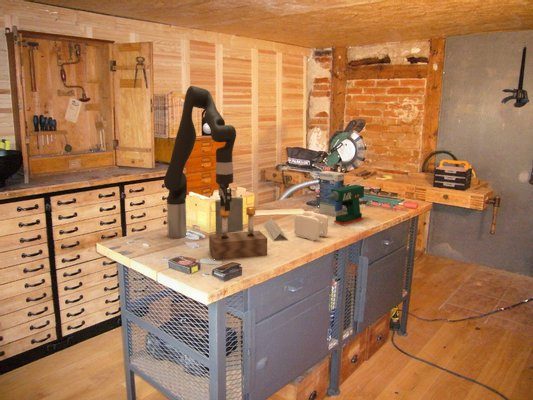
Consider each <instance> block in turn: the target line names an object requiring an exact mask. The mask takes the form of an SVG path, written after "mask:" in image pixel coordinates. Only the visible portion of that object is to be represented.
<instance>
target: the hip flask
mask: <svg viewBox="0 0 533 400" xmlns="http://www.w3.org/2000/svg"><path fill="white" fill-rule="evenodd" d="M231 198H232V202H230V211H229V217H227V220H228V233H234V232H240V231H241V232H242V231H243V230H244V227H243V226H244V215H243V214H244V210H243V209H244V205H243V204H244V200H243V199H244V198H243V197H242V196H241V197H239V196H238V197H237V196H235V197H234V196H233V194H232V193H231ZM227 199H228V198H227ZM214 205H215V234H222V217H220V209H223V208H225V206H220V199H216V200H215V202H214Z"/></svg>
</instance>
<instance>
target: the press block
mask: <svg viewBox="0 0 533 400" xmlns="http://www.w3.org/2000/svg"><path fill="white" fill-rule="evenodd" d="M208 244H209V247H208V248H209V253H210V255H211V256H212V258H213V260H214V259H215V260H216V261H223V260H233V259H242V258H243V259H244V258H252V257H253V258H254V257H263V256H268V237H267V236H266V235H265V234H264V233H262V232H261V231H260V230H253V236H251V237H248V231H241V232H240V231H236V232H228V239H222V234H216V233H215V234H208ZM215 260H214V261H215Z"/></svg>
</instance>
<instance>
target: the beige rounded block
mask: <svg viewBox="0 0 533 400" xmlns="http://www.w3.org/2000/svg"><path fill="white" fill-rule="evenodd" d="M293 226H294V227H293V228H294V230H293V231H294V235H295V236H297V237H298V238H302V239H308V240H309V241H312V240H313V241H316V240H318V239H319V238H321V237H322V238H323V237H325V236H328V233H329V232H328V231H329V230H328V229H329V228H328V227H329V217H328V215H325V214H321V213H316V212H312V211H305V212H303V213H302V214H297V215H295V216H294V225H293ZM320 236H321V237H320Z"/></svg>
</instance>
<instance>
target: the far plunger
mask: <svg viewBox="0 0 533 400" xmlns="http://www.w3.org/2000/svg"><path fill="white" fill-rule="evenodd" d="M245 208H246V215H247V221H248V222H247V232H248V237H251V236H253V231H254V216H255V215H256V206H247V207H245Z"/></svg>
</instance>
